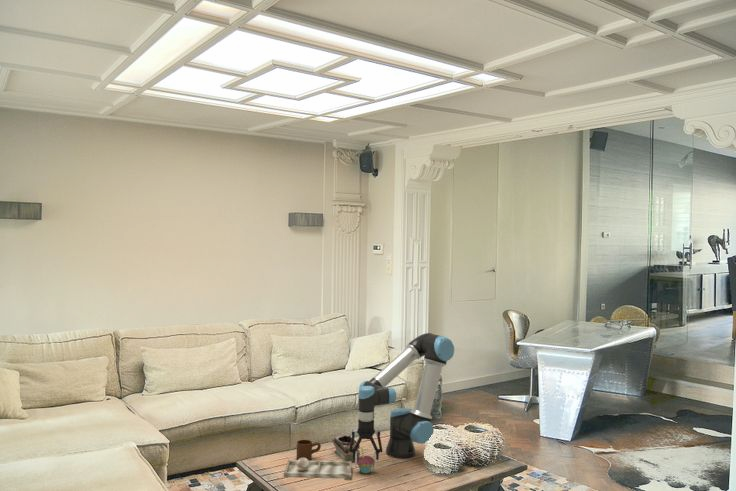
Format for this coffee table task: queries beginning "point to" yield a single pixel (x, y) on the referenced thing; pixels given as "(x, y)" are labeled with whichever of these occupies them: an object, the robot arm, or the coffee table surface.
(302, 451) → the mug
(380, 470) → the coffee table surface
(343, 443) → the decorative box
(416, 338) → the robot arm
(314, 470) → the divided tray
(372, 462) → the cupcake
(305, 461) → the wooden egg
